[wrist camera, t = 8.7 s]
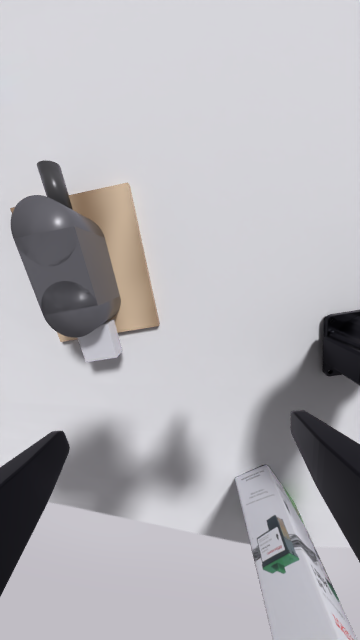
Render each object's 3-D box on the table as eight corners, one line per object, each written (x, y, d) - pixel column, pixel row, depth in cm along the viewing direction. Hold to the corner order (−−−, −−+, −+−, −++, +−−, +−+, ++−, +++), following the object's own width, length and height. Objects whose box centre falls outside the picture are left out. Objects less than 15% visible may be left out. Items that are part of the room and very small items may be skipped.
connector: (87, 172, 14) (45, 129, 10) (132, 343, 18) (116, 367, 14) (39, 182, 14) (-23, 145, 10) (94, 349, 18) (66, 375, 14)
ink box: (295, 502, 25) (391, 703, 13) (262, 515, 25) (325, 714, 14) (266, 462, 23) (349, 655, 11) (231, 477, 24) (276, 672, 12)
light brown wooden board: (129, 186, 15) (127, 182, 14) (159, 324, 18) (158, 325, 17) (16, 210, 15) (10, 208, 15) (64, 339, 19) (60, 342, 18)
